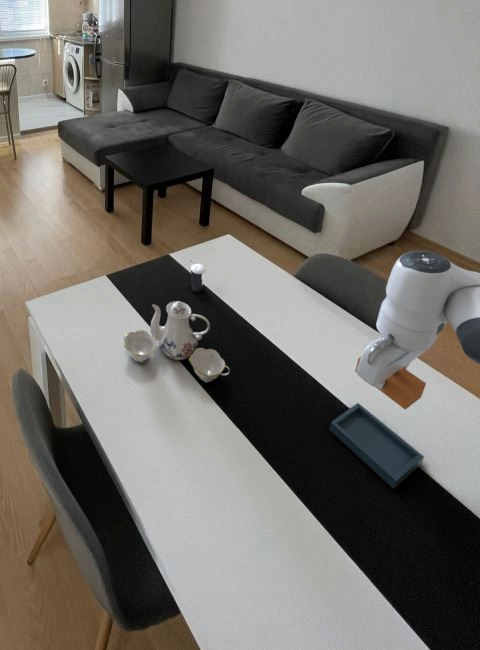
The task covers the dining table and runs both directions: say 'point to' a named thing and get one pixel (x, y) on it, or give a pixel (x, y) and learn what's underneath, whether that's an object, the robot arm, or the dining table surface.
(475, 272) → the robot arm
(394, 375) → the orange rectangular block
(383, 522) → the dining table surface
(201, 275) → the milkshake
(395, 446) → the dark blue rectangular tray
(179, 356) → the chinaware
